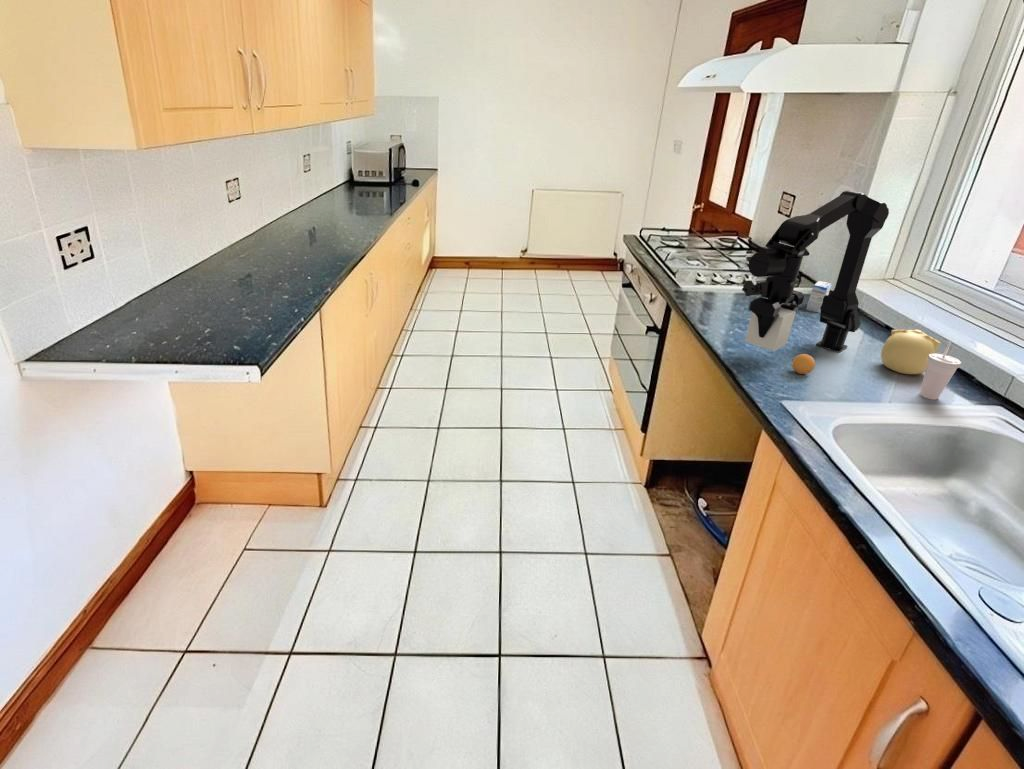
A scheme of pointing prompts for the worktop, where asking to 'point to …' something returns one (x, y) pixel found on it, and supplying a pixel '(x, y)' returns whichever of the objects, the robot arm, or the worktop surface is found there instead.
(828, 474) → the worktop surface
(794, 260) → the robot arm
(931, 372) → the smoothie
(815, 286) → the medicine box
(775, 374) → the worktop surface
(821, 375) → the worktop surface
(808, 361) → the ball
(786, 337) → the chalk-white cube
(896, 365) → the pale yellow rounded lump
